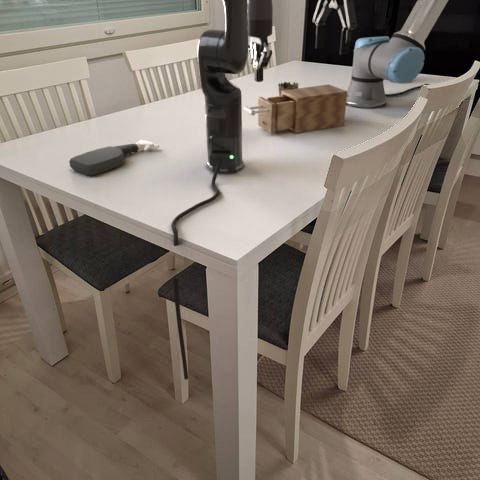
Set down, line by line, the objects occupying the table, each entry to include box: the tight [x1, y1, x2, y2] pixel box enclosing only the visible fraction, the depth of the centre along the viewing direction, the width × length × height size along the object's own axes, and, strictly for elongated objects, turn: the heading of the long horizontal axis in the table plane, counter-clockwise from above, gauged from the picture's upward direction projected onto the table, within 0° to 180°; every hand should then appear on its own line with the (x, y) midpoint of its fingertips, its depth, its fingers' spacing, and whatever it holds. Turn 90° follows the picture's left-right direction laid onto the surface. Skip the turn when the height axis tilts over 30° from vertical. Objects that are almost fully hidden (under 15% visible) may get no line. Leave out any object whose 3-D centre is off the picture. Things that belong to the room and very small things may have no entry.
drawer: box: [243, 95, 296, 134], centre depth 142 cm, size 23×9×9 cm, turn 113°
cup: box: [277, 81, 300, 96], centre depth 166 cm, size 8×7×8 cm
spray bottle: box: [68, 139, 160, 177], centre depth 124 cm, size 3×11×24 cm
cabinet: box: [281, 84, 347, 134], centre depth 146 cm, size 18×11×11 cm, turn 113°
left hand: (258, 81), depth 134 cm, fingers closed
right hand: (331, 51), depth 138 cm, fingers open, 13 cm apart
